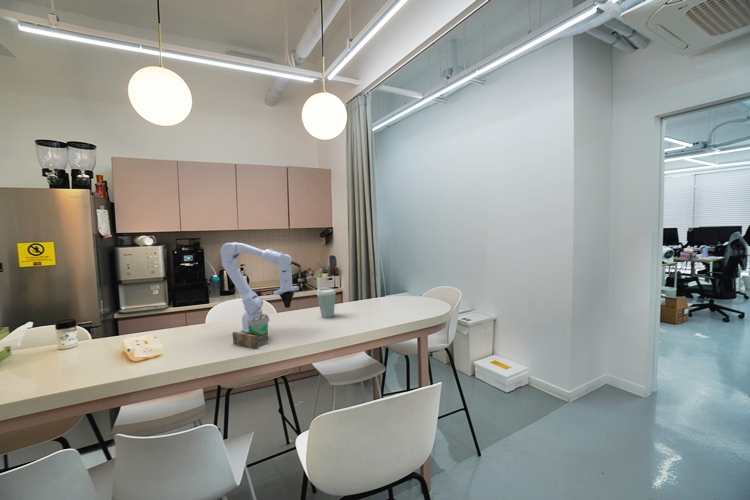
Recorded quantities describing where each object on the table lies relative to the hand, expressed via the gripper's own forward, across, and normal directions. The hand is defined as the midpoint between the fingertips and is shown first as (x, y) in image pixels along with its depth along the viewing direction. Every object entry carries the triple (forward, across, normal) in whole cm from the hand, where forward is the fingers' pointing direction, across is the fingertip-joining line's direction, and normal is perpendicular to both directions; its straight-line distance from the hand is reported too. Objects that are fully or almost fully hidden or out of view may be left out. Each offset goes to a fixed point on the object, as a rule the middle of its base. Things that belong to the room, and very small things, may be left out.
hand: (287, 307), depth 160 cm
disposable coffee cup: (+11, +26, -3) cm, 28 cm away
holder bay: (+10, -23, -1) cm, 25 cm away
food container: (+11, -17, -1) cm, 20 cm away
